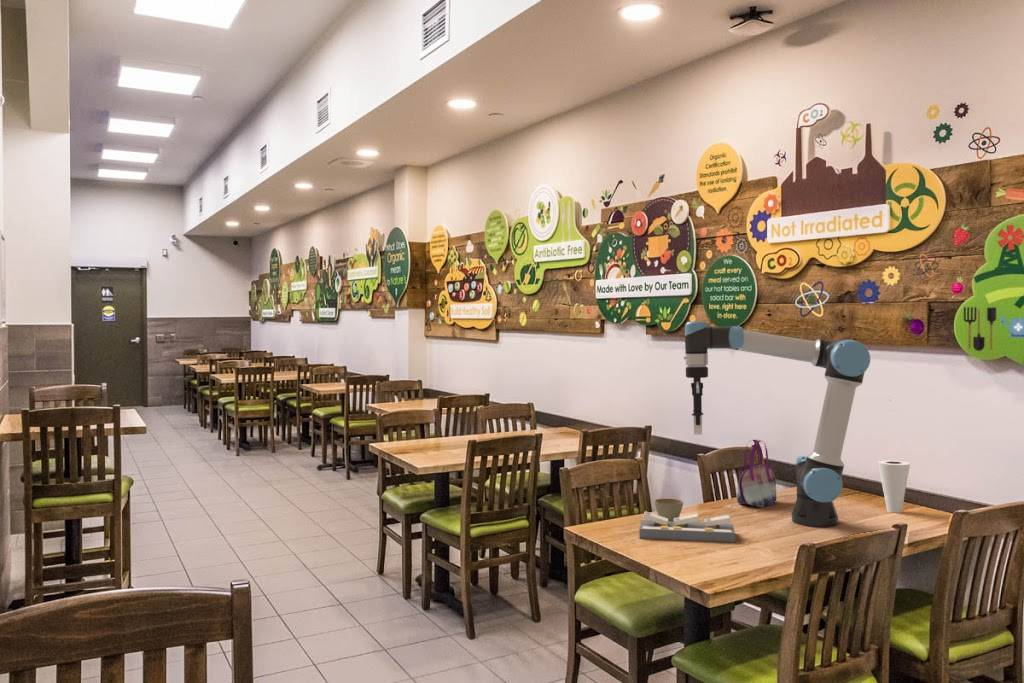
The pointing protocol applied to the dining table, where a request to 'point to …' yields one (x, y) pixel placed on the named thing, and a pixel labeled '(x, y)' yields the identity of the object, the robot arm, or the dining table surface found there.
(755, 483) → the handbag
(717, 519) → the rocker
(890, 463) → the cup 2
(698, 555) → the dining table surface
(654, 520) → the rocker
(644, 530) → the switch unit
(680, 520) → the rocker
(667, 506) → the flower pot
